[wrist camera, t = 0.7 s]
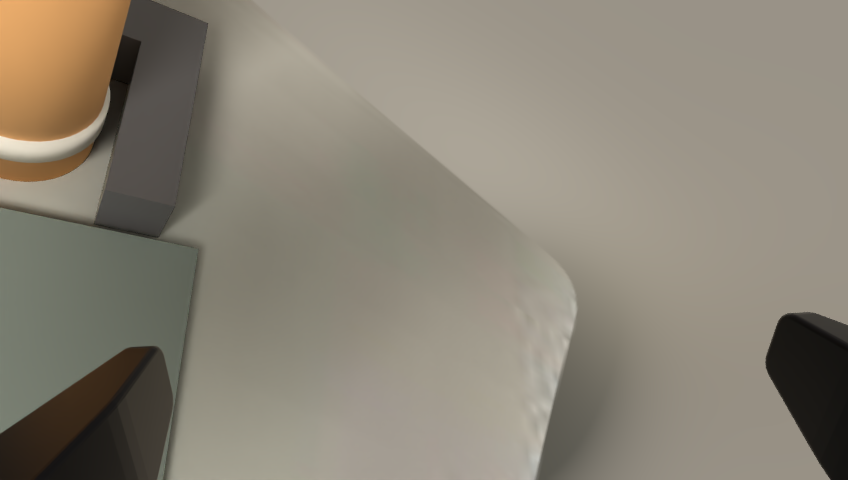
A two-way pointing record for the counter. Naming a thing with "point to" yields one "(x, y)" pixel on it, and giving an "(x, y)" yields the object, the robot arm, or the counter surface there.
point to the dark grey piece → (151, 116)
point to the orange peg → (54, 82)
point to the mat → (83, 306)
